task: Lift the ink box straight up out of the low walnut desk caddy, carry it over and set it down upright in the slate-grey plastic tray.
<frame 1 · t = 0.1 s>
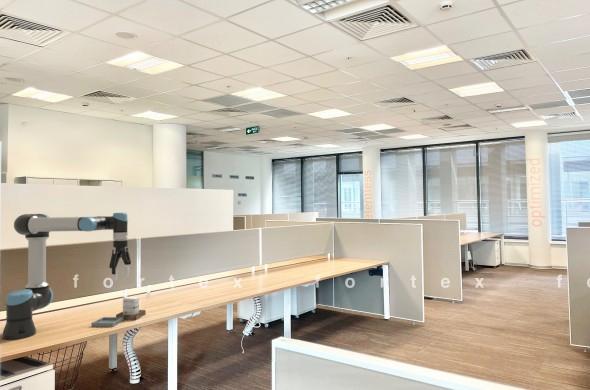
hand: (120, 278, 236), 28 cm above the table, fingers open, 13 cm apart
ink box: (131, 317, 260), resting in caddy
caddy: (131, 317, 260), on the table
tray: (108, 323, 246), on the table
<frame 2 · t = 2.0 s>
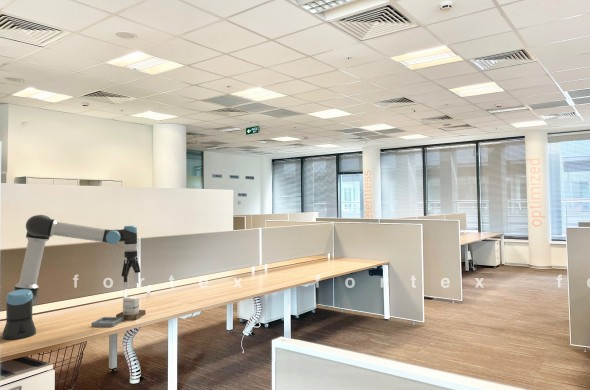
hand: (131, 285, 261), 20 cm above the table, fingers open, 13 cm apart
nothing on the table moved.
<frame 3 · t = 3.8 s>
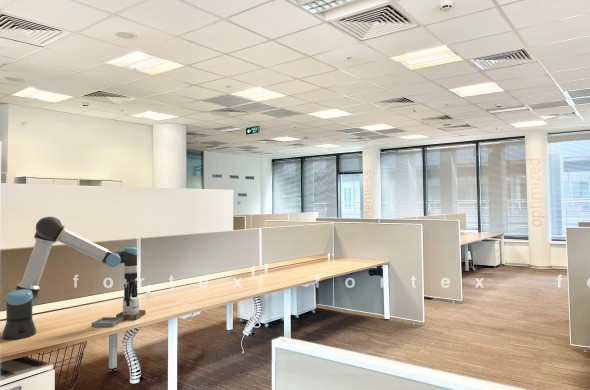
hand: (131, 310, 260), 4 cm above the table, fingers closed on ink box, 6 cm apart
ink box: (131, 317, 260), resting in caddy, touching gripper
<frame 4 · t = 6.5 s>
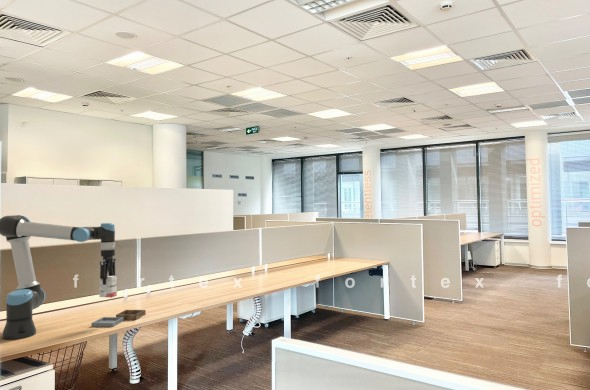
hand: (107, 289, 247), 20 cm above the table, fingers closed on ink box, 5 cm apart
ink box: (108, 296, 246), point 15 cm above the table, touching gripper
when the fingers open (6 cm above the table, at t = 9.2 s): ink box drops 1 cm, resting on tray.
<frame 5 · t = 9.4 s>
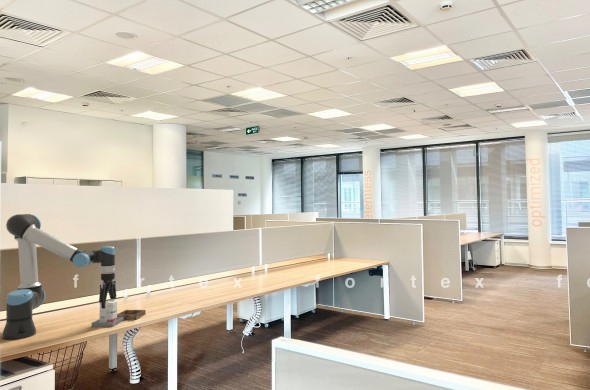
hand: (108, 311, 246), 7 cm above the table, fingers open, 8 cm apart
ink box: (108, 322, 246), resting on tray
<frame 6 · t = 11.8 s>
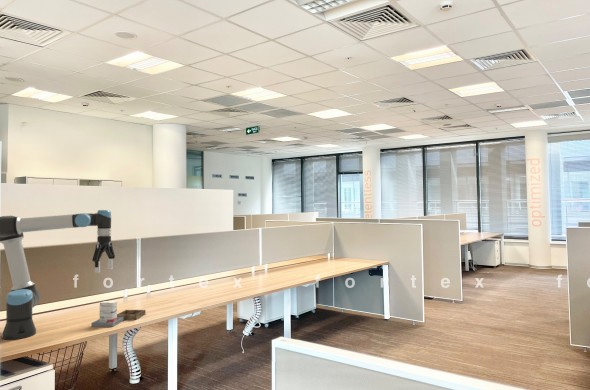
hand: (103, 271, 253), 30 cm above the table, fingers open, 13 cm apart
nothing on the table moved.
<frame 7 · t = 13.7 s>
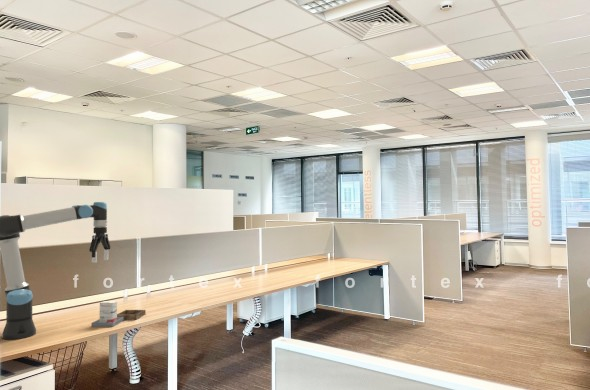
hand: (100, 261, 260), 35 cm above the table, fingers open, 13 cm apart
nothing on the table moved.
at the end: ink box inside the target area on the tray (0.3 cm from its centre), point 0.4 cm above the tray's base; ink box tilted 0°; the gripper is holding nothing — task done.
